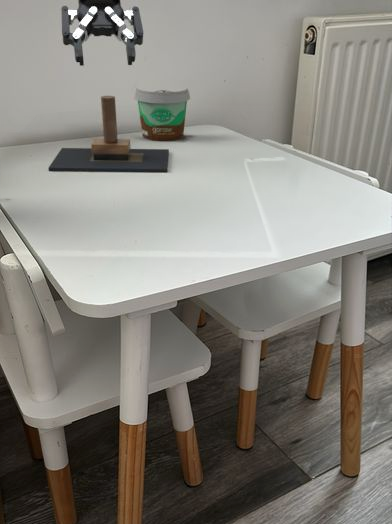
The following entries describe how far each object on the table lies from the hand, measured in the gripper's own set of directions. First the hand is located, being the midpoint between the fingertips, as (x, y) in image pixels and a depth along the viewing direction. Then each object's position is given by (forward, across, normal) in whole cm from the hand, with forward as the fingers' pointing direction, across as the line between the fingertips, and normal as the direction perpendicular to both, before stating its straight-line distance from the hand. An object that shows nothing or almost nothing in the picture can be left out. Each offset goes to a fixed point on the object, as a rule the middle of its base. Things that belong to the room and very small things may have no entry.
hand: (105, 62), depth 98 cm
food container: (0, -13, -25) cm, 28 cm away
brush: (+11, 0, -13) cm, 17 cm away
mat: (+11, 0, -13) cm, 18 cm away
